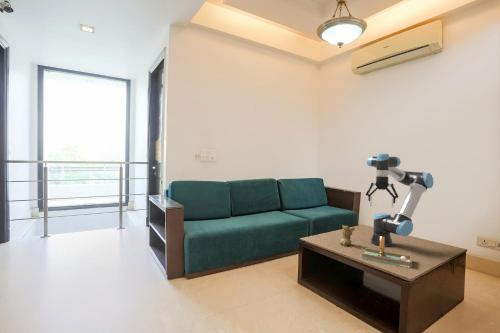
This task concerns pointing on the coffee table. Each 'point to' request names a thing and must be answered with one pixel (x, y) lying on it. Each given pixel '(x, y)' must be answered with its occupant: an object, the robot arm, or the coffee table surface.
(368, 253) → the pitch
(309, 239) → the coffee table surface
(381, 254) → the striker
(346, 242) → the figurine
